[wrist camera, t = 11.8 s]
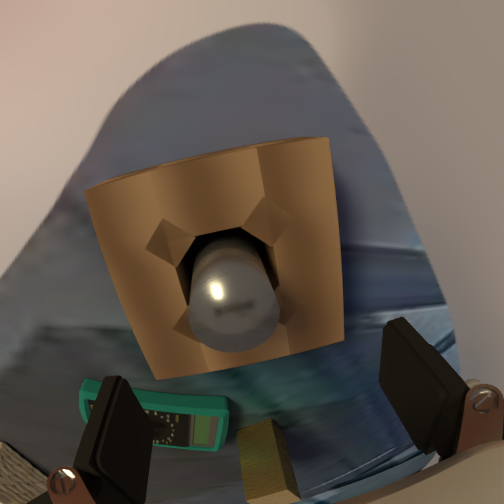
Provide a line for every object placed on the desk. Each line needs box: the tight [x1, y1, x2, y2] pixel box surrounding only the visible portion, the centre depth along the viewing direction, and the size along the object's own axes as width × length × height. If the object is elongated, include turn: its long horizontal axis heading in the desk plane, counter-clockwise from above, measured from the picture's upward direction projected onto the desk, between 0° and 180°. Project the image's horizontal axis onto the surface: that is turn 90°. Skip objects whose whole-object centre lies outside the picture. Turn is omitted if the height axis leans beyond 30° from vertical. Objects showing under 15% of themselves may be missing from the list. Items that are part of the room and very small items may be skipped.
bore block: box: [84, 137, 344, 380], centre depth 19 cm, size 13×13×5 cm
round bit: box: [188, 226, 280, 353], centre depth 17 cm, size 4×4×9 cm
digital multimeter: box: [79, 379, 229, 451], centre depth 26 cm, size 7×15×3 cm, turn 80°
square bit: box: [236, 418, 301, 504], centre depth 26 cm, size 4×4×9 cm
